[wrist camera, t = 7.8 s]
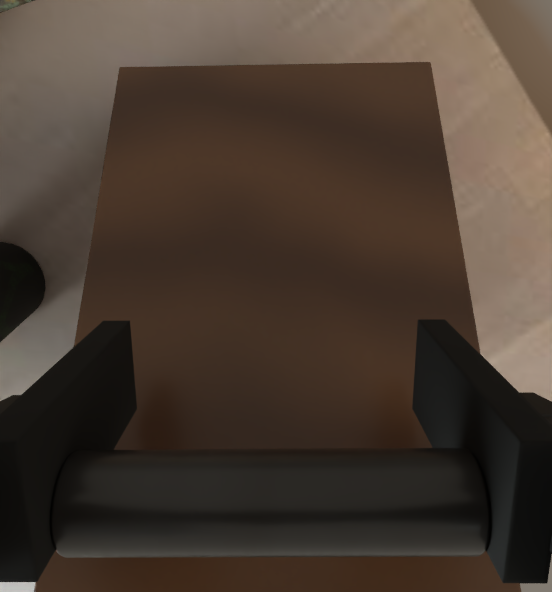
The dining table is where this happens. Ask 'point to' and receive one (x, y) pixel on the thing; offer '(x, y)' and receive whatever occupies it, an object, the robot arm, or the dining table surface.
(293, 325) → the lid
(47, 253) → the dining table surface
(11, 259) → the cup
